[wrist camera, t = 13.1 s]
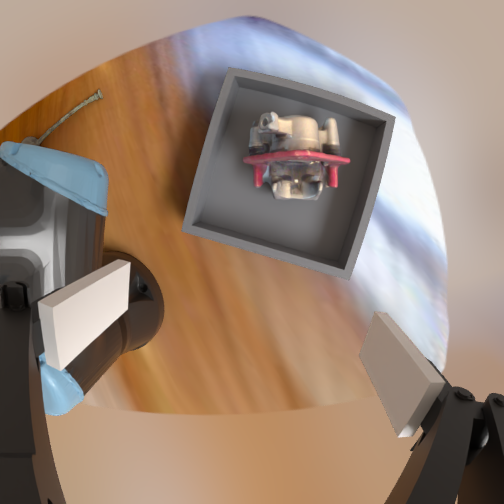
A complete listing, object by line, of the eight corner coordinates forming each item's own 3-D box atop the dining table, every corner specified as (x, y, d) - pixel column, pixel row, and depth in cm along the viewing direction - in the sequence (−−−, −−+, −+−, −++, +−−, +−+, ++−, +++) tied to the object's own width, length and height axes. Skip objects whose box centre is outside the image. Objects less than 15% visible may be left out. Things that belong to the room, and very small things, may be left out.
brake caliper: (246, 222, 34) (232, 146, 23) (249, 153, 39) (240, 79, 28) (344, 221, 33) (369, 147, 22) (333, 153, 38) (344, 80, 27)
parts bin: (193, 226, 38) (181, 231, 33) (234, 81, 34) (228, 67, 29) (340, 269, 37) (349, 280, 33) (381, 125, 33) (395, 117, 28)
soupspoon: (18, 152, 39) (26, 182, 40) (6, 152, 36) (14, 183, 37) (99, 79, 35) (110, 111, 36) (87, 74, 32) (98, 108, 33)
